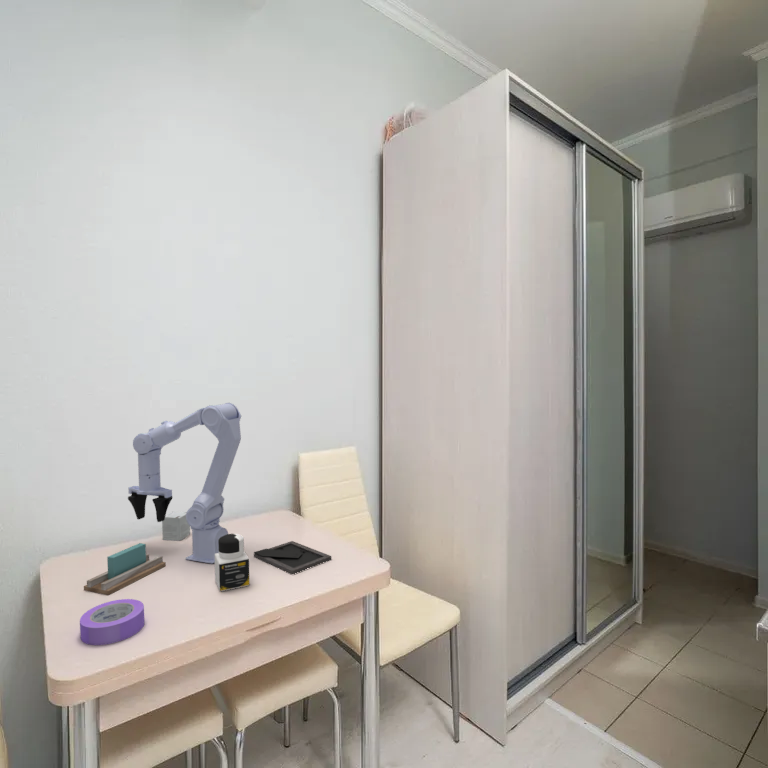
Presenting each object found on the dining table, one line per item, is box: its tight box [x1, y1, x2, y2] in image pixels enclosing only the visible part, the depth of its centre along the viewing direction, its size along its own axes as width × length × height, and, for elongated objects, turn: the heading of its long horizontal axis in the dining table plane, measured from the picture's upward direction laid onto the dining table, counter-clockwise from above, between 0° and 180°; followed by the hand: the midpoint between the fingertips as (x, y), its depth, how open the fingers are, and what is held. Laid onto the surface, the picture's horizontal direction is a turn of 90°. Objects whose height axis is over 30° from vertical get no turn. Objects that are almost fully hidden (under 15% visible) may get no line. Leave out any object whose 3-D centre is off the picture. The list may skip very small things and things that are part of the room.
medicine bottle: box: [214, 533, 250, 592], centre depth 124 cm, size 7×7×12 cm
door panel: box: [106, 542, 147, 580], centre depth 128 cm, size 2×10×6 cm, turn 159°
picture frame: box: [253, 540, 332, 575], centre depth 139 cm, size 13×2×18 cm
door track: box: [83, 553, 167, 596], centre depth 128 cm, size 8×18×2 cm, turn 160°
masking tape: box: [79, 598, 146, 646], centre depth 103 cm, size 12×12×4 cm
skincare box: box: [161, 511, 191, 542], centre depth 158 cm, size 6×6×7 cm
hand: (150, 519), depth 145 cm, fingers open, 7 cm apart
